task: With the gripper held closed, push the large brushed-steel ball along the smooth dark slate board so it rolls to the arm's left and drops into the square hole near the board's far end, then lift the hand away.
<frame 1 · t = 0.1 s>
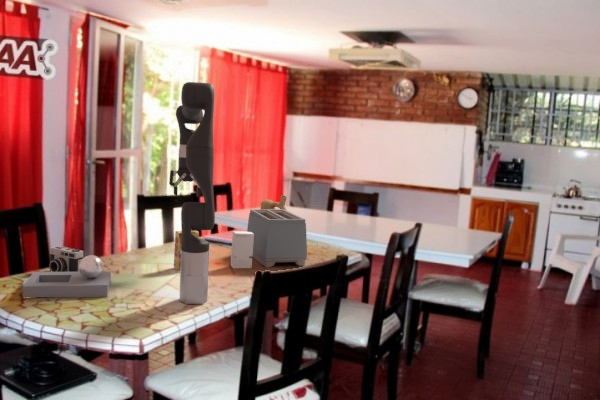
hand: (187, 196, 235), 29 cm above the table, tool pointing down, fingers open, 8 cm apart
candy box: (185, 268, 238), on the table
toaster: (273, 258, 264), on the table
skincare box: (241, 267, 244), on the table
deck: (69, 289, 200), on the table
tan irregular piece: (271, 242, 297), on the table
ball: (91, 266, 201), point 8 cm above the table, touching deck
camera: (62, 274, 219), on the table
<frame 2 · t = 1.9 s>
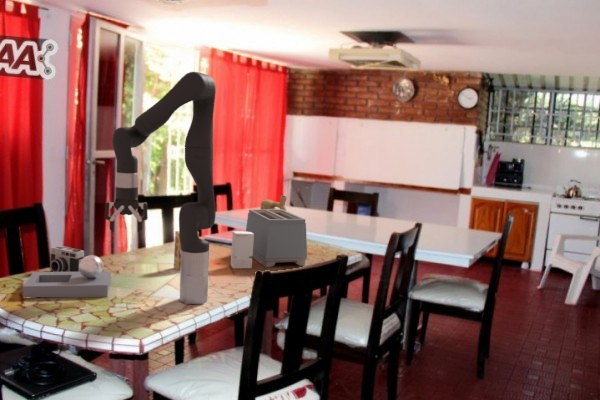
hand: (126, 231, 203), 20 cm above the table, tool pointing down, fingers open, 8 cm apart
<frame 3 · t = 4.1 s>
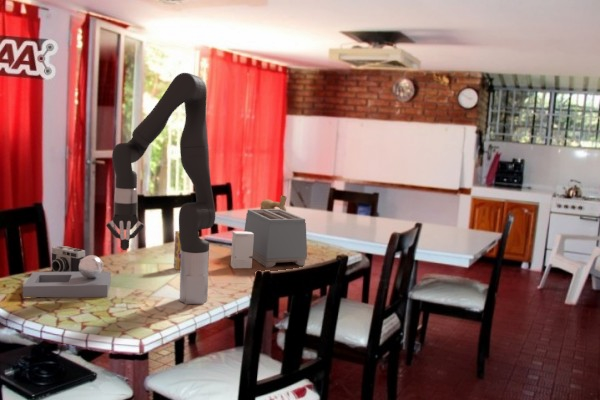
hand: (124, 249, 203), 14 cm above the table, tool pointing down, fingers closed
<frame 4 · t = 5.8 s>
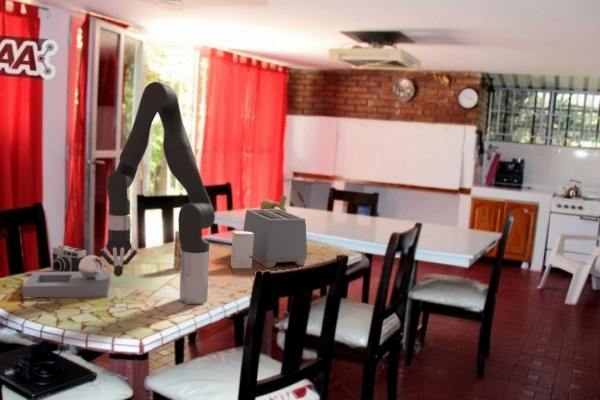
hand: (118, 276, 204), 5 cm above the table, tool pointing down, fingers closed
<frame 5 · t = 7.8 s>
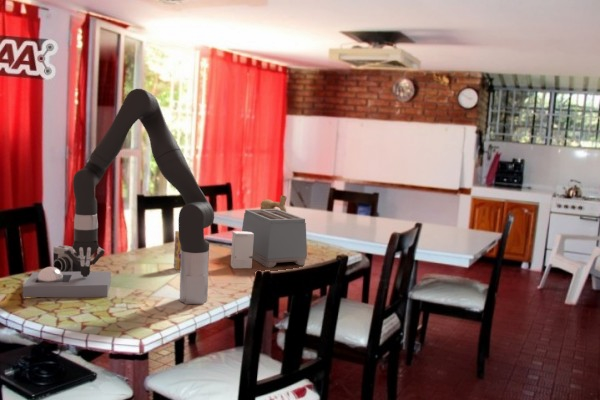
hand: (85, 276, 201), 5 cm above the table, tool pointing down, fingers closed
ball: (50, 278, 198), point 4 cm above the table, tilted 109°
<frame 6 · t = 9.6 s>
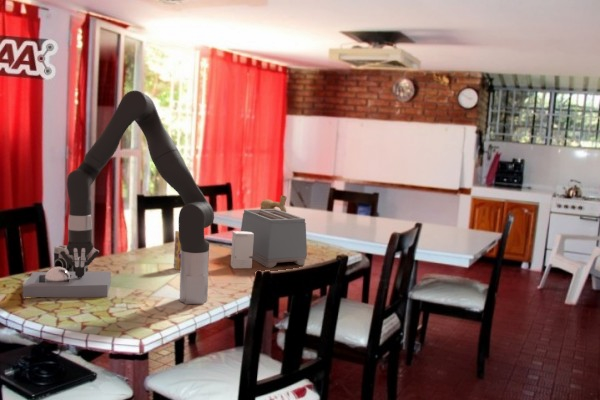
hand: (79, 277, 200), 4 cm above the table, tool pointing down, fingers closed
ball: (57, 278, 199), point 4 cm above the table, tilted 76°
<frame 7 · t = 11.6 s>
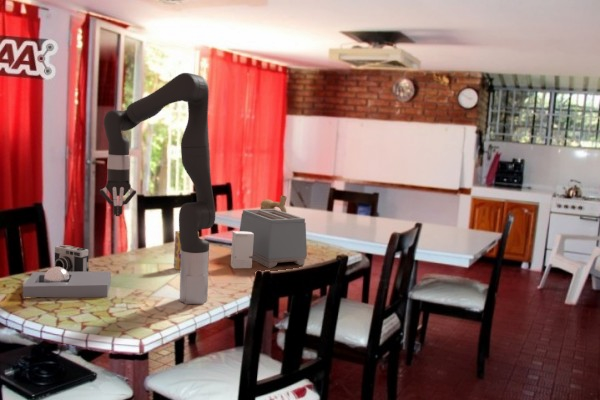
hand: (117, 216, 208), 25 cm above the table, tool pointing down, fingers closed
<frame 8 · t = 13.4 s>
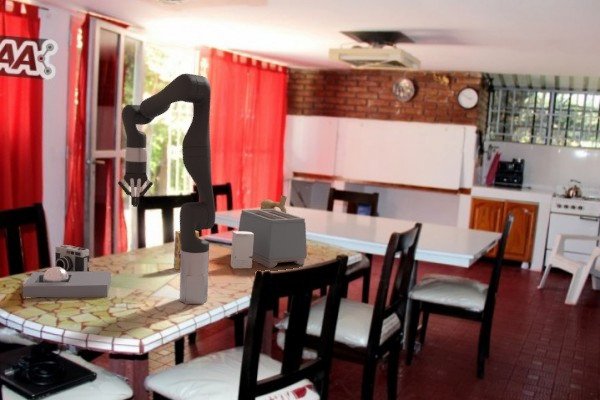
hand: (135, 206, 216), 27 cm above the table, tool pointing down, fingers closed
at the end: ball 0.7 cm from the target spot in the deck, point 4.0 cm above the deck's base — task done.
